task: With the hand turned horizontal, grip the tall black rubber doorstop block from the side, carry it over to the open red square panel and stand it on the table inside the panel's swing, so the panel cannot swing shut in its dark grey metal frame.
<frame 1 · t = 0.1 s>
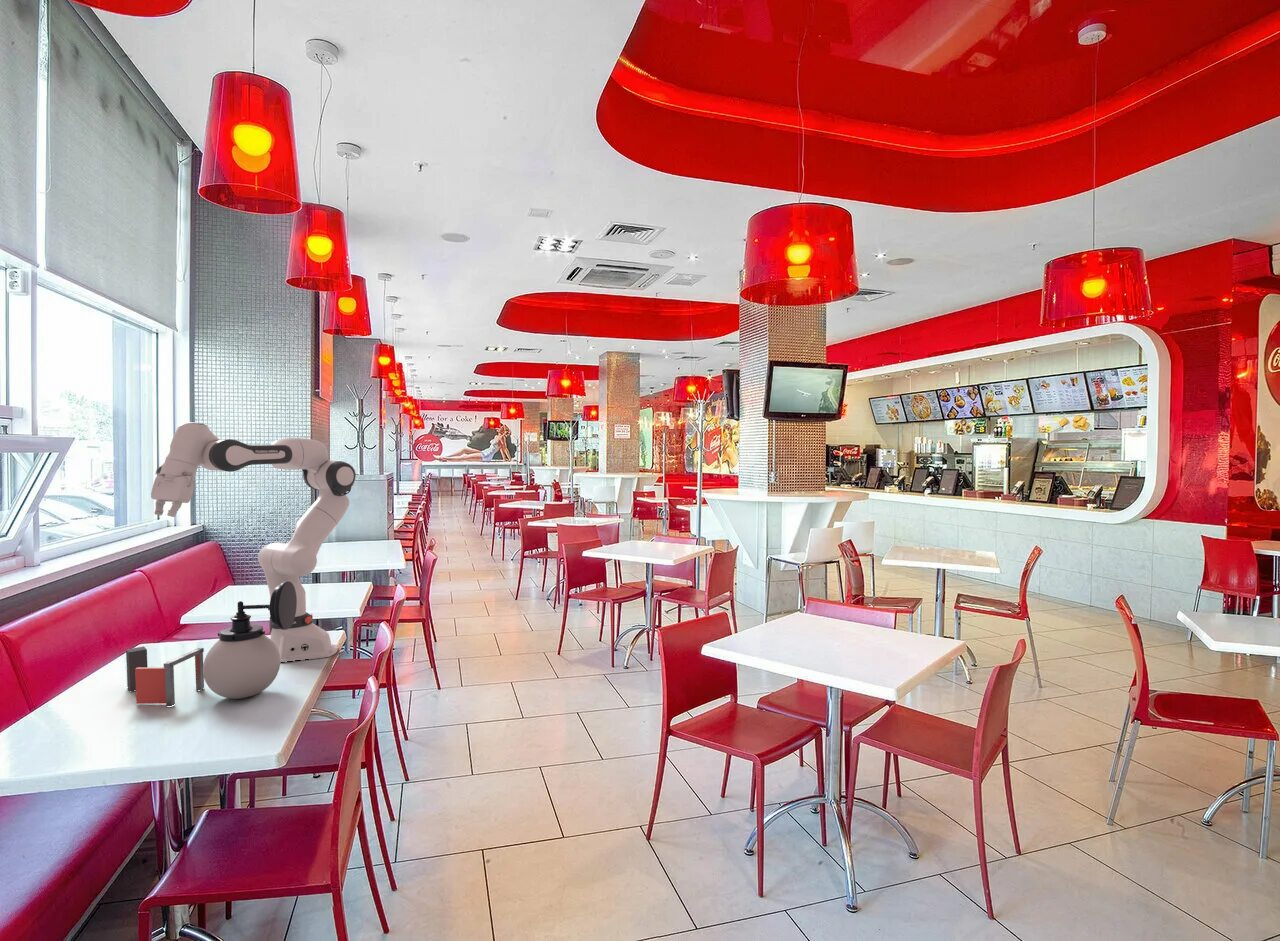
hand: (164, 515, 220), 52 cm above the table, tool tilted 20°, fingers open, 8 cm apart
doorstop: (137, 688, 219), on the table
light fixture: (249, 697, 211), on the table
door frame: (174, 704, 205), on the table
red square panel: (154, 685, 204), point 5 cm above the table, hinge at 90.0°
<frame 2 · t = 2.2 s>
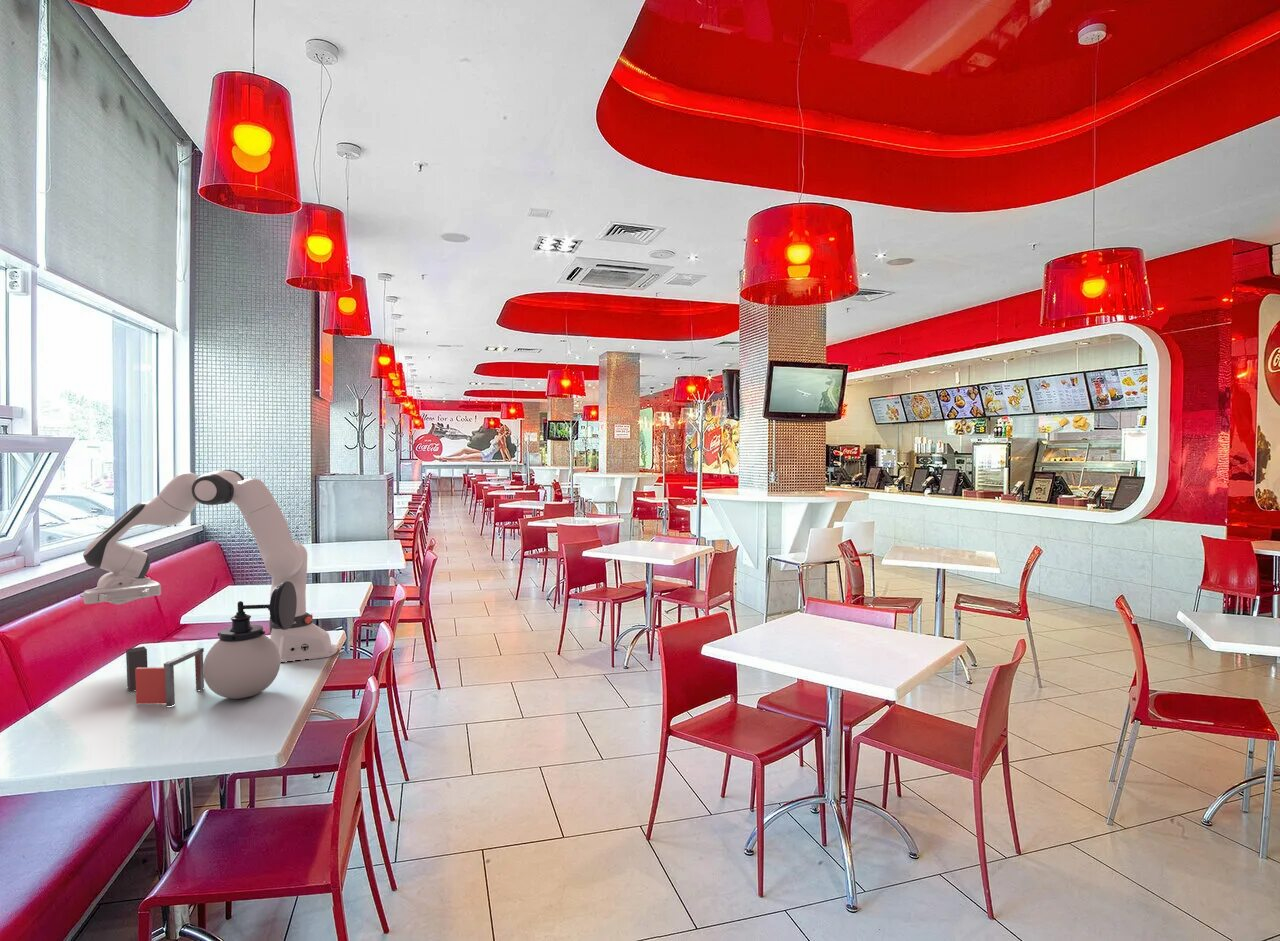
hand: (127, 596, 226), 26 cm above the table, tool horizontal, fingers open, 8 cm apart
nothing on the table moved.
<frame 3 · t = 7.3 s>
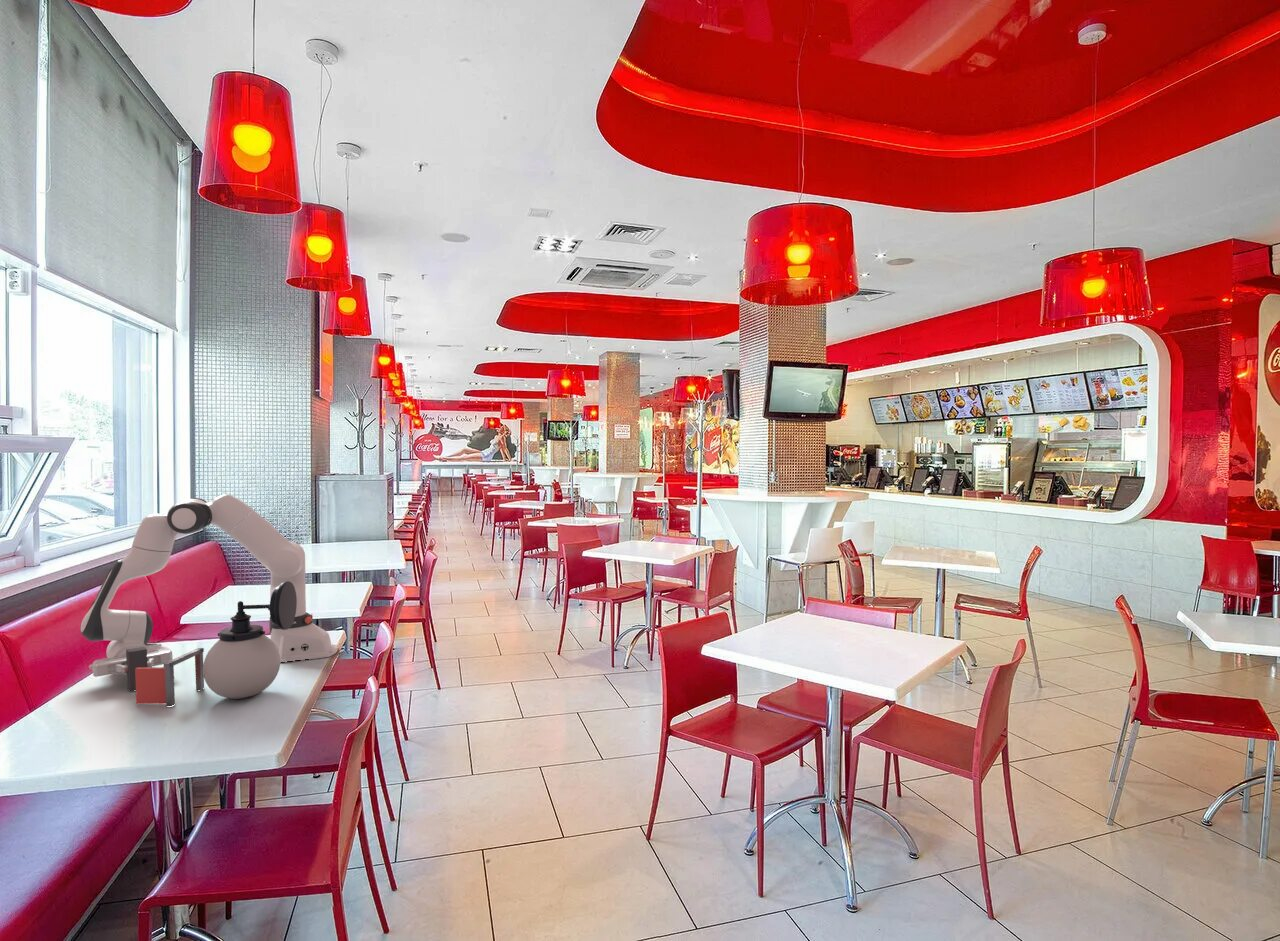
hand: (137, 667, 218), 7 cm above the table, tool horizontal, fingers closed on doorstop, 4 cm apart
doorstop: (137, 688, 219), on the table, touching gripper
everything else where it was.
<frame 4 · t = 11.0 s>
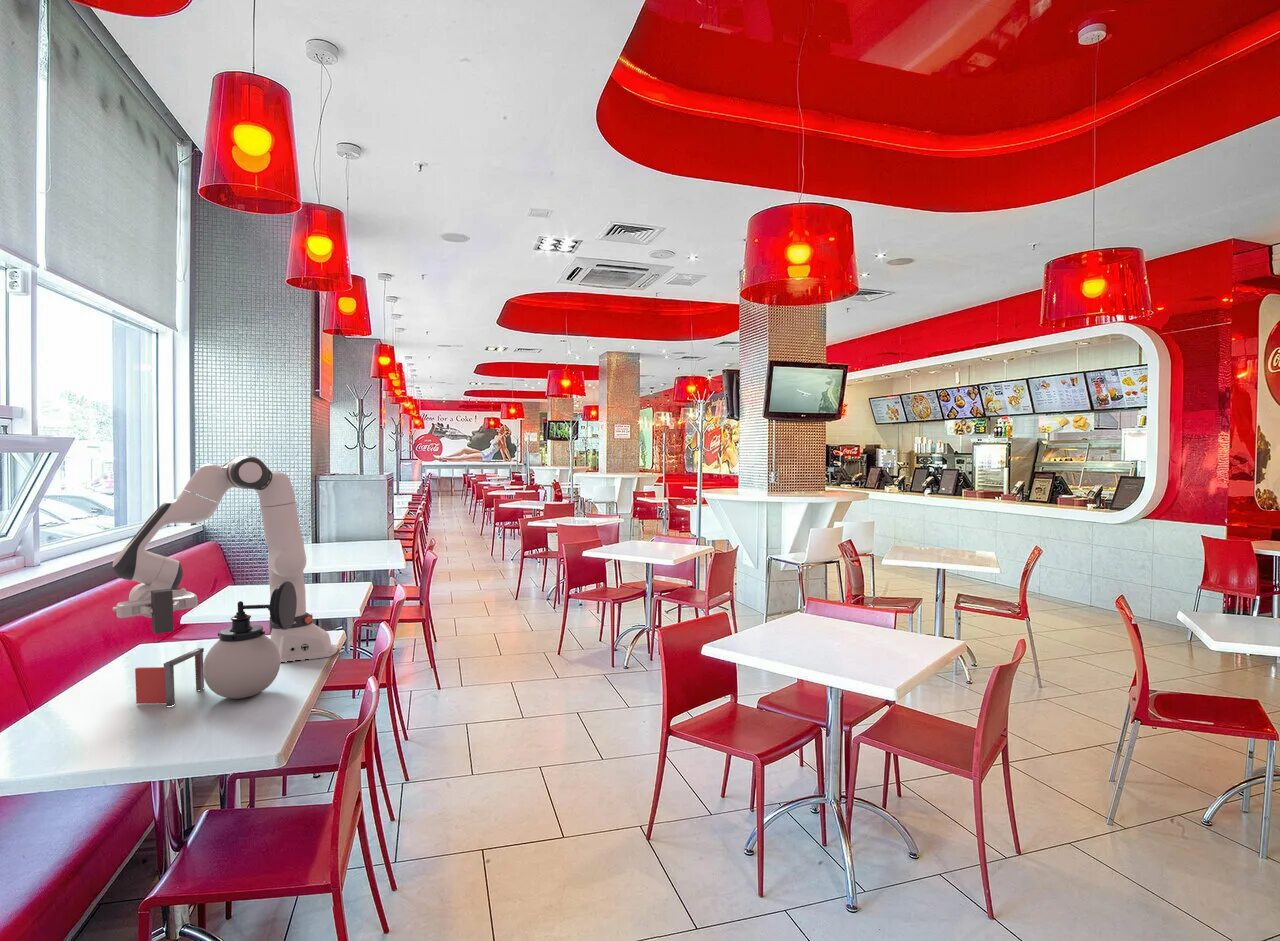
hand: (162, 609, 211), 25 cm above the table, tool horizontal, fingers closed on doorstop, 4 cm apart
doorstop: (162, 631, 212), point 19 cm above the table, touching gripper
everything else where it was.
when the fingers open (8 cm above the table, at t = 14.6 s): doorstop drops 1 cm, on the table.
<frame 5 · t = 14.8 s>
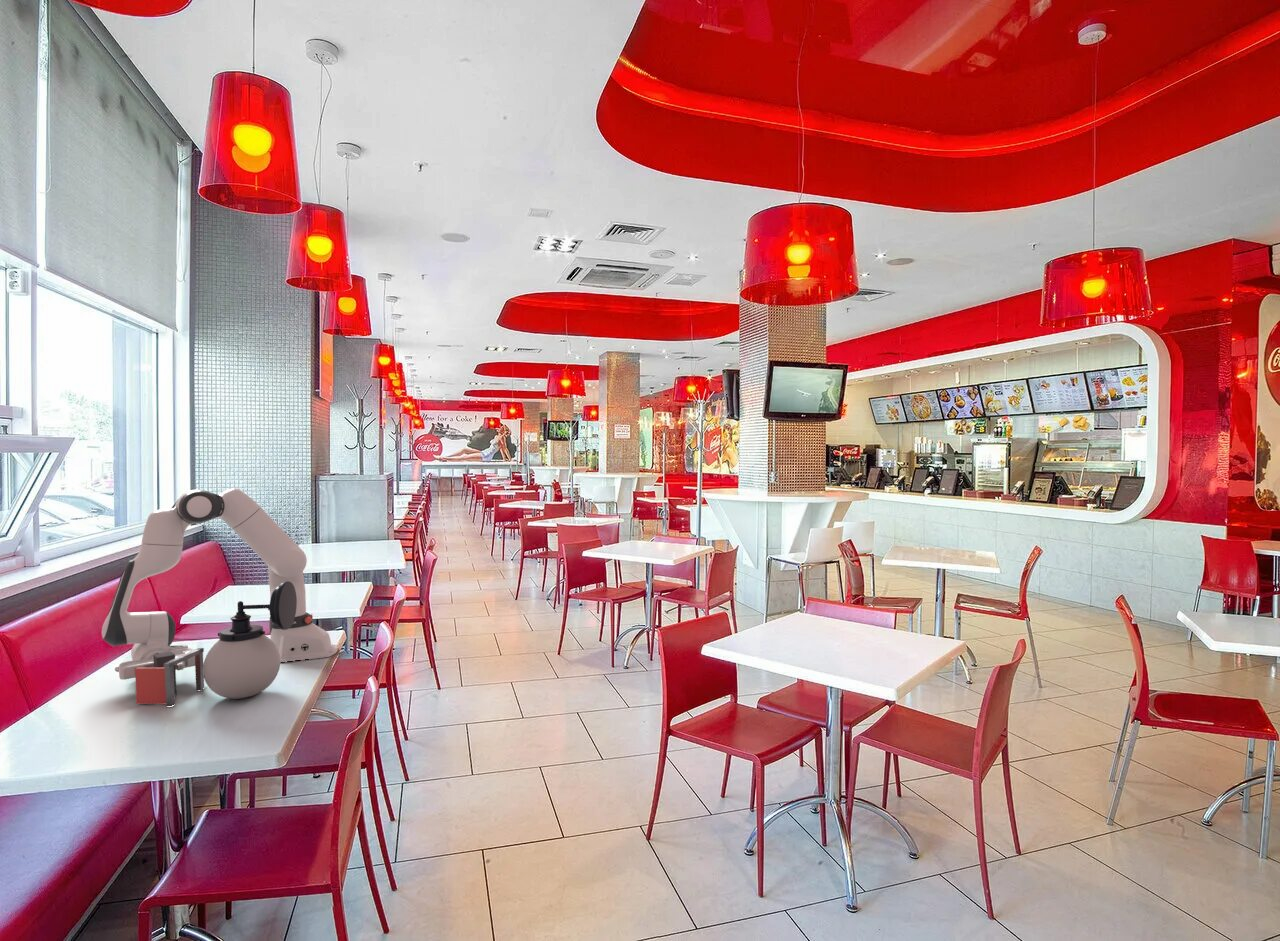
hand: (165, 670, 212), 8 cm above the table, tool horizontal, fingers open, 6 cm apart
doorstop: (165, 695, 212), on the table
everything else where it was.
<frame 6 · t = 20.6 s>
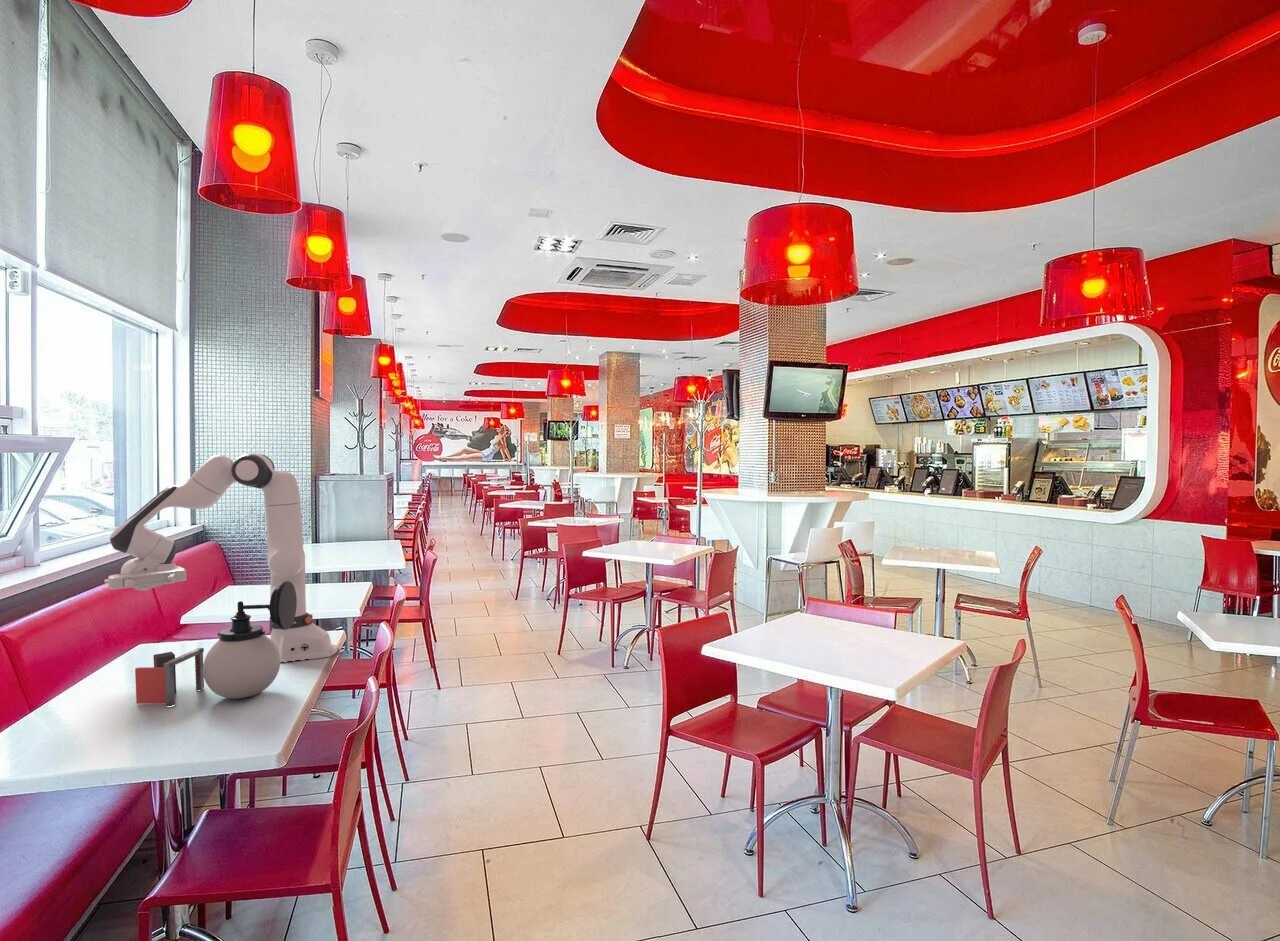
hand: (152, 581, 220), 32 cm above the table, tool horizontal, fingers open, 8 cm apart
nothing on the table moved.
at the end: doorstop 0.1 cm from the target spot on the table beside the door frame, on the table; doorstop tilted 0°; red square panel at +90° (first picture: +90°) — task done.
